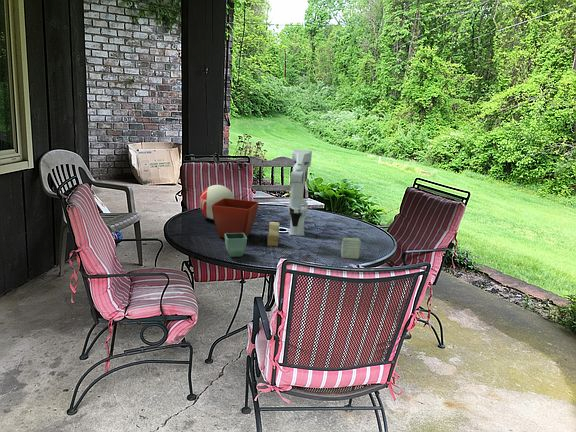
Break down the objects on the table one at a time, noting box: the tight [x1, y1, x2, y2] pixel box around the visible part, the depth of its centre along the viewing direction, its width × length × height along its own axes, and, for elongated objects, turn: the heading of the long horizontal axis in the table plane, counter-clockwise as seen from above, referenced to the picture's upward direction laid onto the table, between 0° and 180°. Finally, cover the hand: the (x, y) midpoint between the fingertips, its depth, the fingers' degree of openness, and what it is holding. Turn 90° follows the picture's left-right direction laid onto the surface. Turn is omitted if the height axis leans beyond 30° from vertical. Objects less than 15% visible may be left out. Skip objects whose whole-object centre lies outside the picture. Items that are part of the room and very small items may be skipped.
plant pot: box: [212, 198, 259, 239], centre depth 235 cm, size 19×19×17 cm
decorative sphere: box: [198, 184, 235, 221], centre depth 264 cm, size 20×20×20 cm
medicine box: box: [340, 237, 362, 260], centre depth 214 cm, size 8×4×9 cm, turn 92°
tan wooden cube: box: [267, 232, 280, 247], centre depth 226 cm, size 5×5×5 cm
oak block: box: [268, 221, 280, 236], centre depth 225 cm, size 4×4×6 cm
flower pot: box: [224, 233, 248, 258], centre depth 206 cm, size 9×9×9 cm
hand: (294, 224), depth 225 cm, fingers open, 7 cm apart
